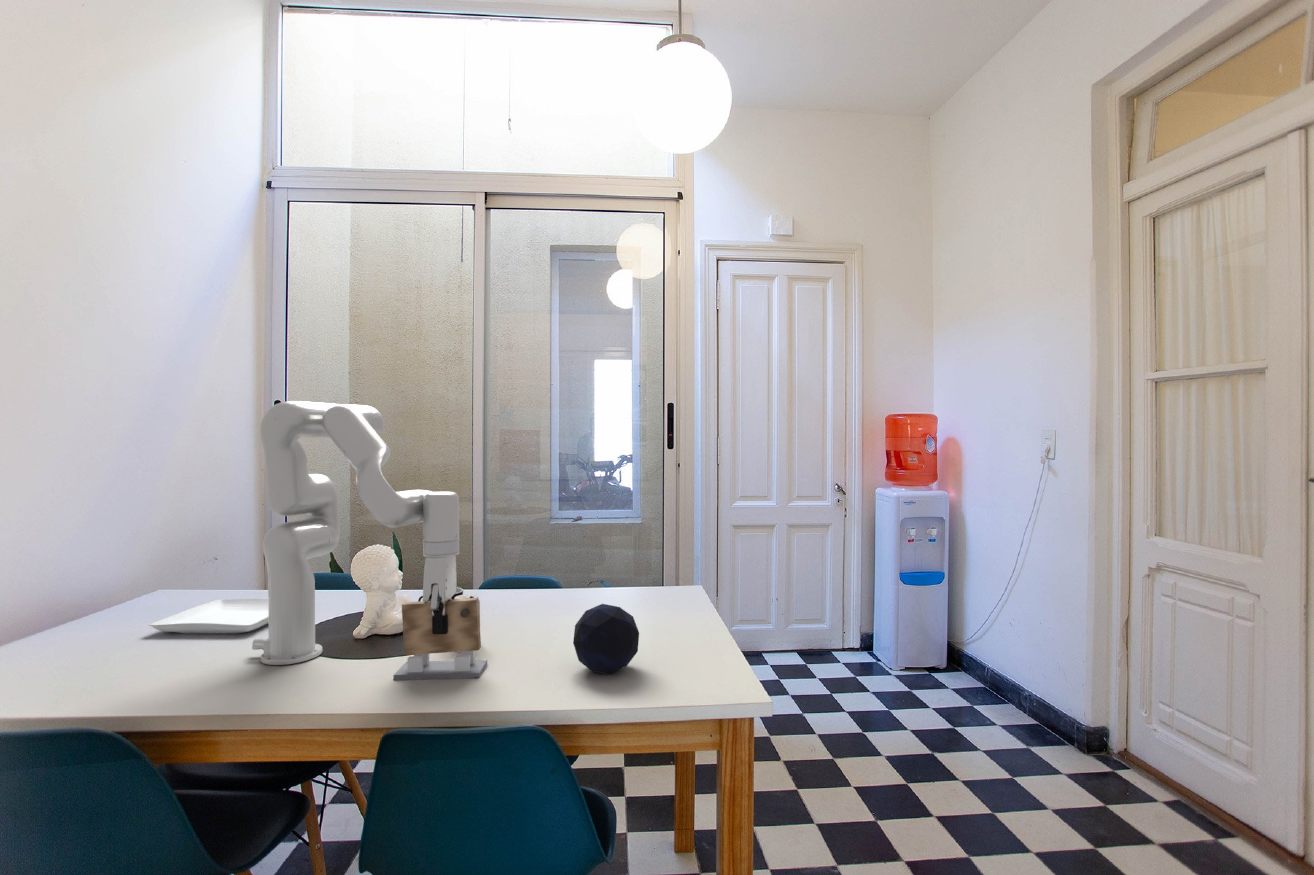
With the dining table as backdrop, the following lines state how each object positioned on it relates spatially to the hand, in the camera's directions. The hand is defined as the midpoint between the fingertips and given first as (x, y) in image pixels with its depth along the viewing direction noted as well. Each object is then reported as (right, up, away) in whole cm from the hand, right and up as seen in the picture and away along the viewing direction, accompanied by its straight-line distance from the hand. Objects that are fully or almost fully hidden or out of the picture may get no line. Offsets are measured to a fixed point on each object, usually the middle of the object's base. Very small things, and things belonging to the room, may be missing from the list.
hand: (441, 631), depth 139 cm
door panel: (0, -4, 0) cm, 4 cm away
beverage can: (0, -9, +18) cm, 20 cm away
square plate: (-71, -10, +38) cm, 81 cm away
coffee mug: (-11, -9, +32) cm, 35 cm away
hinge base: (0, -9, 0) cm, 9 cm away
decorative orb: (+36, -9, +1) cm, 37 cm away
